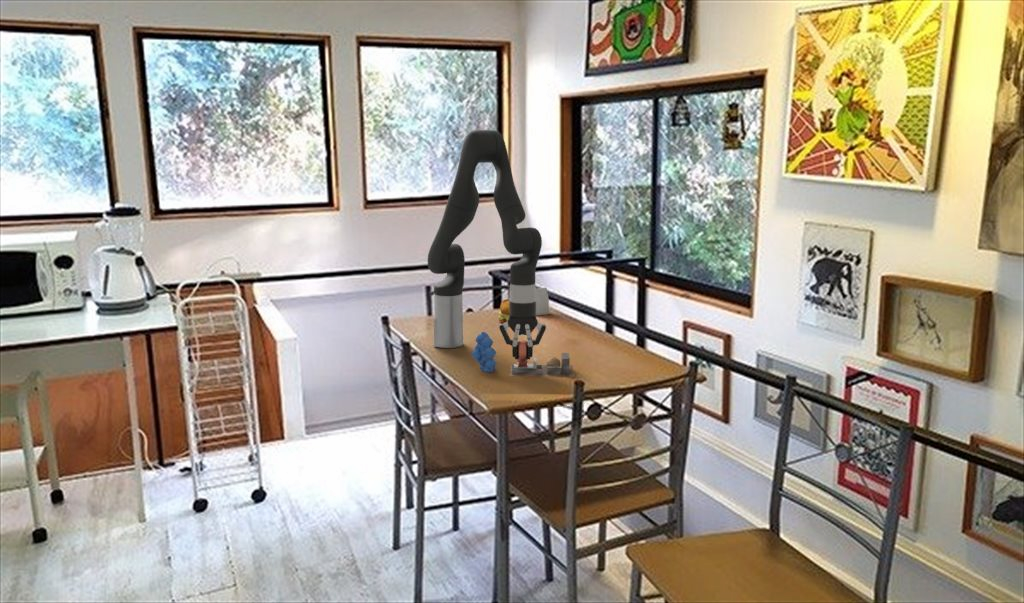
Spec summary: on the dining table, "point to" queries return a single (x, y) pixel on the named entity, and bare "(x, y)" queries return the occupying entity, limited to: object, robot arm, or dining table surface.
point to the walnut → (553, 362)
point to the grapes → (484, 352)
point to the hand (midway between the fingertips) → (522, 358)
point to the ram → (524, 357)
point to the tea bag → (542, 301)
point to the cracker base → (547, 370)
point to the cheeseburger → (504, 311)
